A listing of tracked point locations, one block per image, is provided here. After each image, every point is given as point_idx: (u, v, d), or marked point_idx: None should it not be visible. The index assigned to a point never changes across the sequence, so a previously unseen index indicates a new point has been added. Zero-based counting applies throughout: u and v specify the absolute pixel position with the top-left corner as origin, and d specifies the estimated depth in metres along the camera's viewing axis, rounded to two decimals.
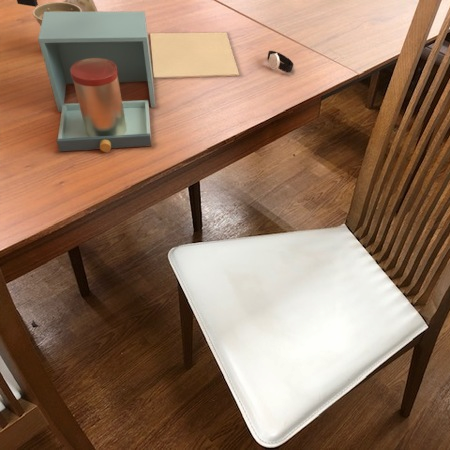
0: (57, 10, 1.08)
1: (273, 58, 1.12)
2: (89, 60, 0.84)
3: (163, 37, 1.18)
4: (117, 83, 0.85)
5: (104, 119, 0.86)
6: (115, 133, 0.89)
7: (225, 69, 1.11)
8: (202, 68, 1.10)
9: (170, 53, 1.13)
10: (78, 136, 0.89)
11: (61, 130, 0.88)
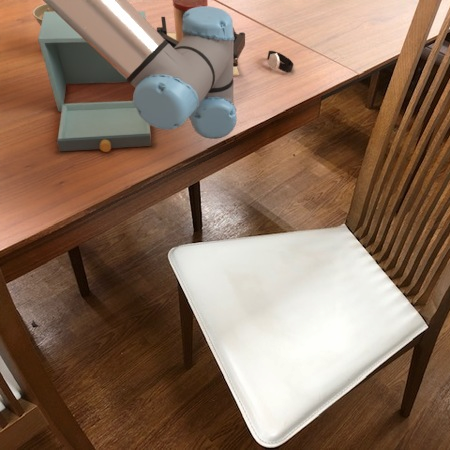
0: None
1: (273, 58, 1.12)
2: None
3: None
4: None
5: None
6: None
7: None
8: None
9: None
10: (78, 136, 0.89)
11: (61, 130, 0.88)
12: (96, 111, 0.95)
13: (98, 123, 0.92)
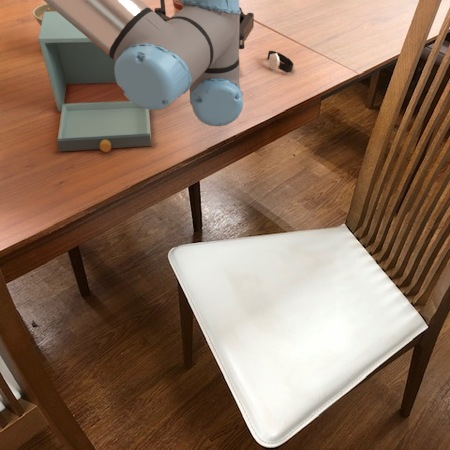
0: None
1: (273, 58, 1.12)
2: None
3: None
4: None
5: None
6: None
7: None
8: None
9: None
10: (78, 136, 0.89)
11: (61, 130, 0.88)
12: (96, 111, 0.95)
13: (98, 123, 0.92)
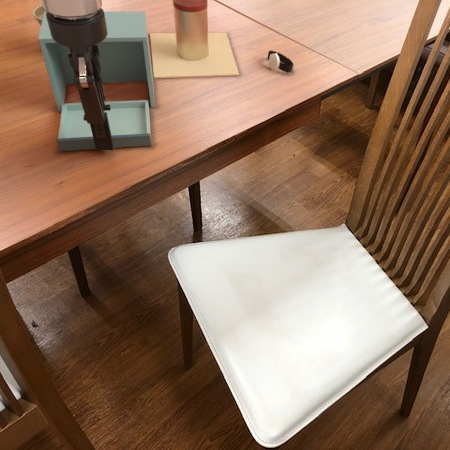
0: None
1: (273, 58, 1.12)
2: None
3: (163, 37, 1.18)
4: None
5: (195, 41, 1.09)
6: (202, 54, 1.12)
7: (225, 69, 1.11)
8: (202, 68, 1.10)
9: (170, 53, 1.13)
10: (78, 136, 0.89)
11: (61, 130, 0.88)
12: None
13: None
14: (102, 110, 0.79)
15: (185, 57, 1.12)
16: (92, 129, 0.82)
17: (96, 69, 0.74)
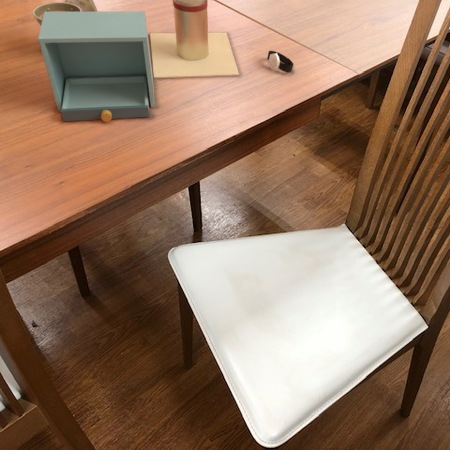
0: (57, 10, 1.08)
1: (273, 58, 1.12)
2: None
3: (163, 37, 1.18)
4: None
5: (195, 41, 1.09)
6: (202, 54, 1.12)
7: (225, 69, 1.11)
8: (202, 68, 1.10)
9: (170, 53, 1.13)
10: (81, 107, 0.95)
11: (65, 101, 0.94)
12: (97, 85, 1.01)
13: (100, 96, 0.98)
14: None
15: (185, 57, 1.12)
16: None
17: None
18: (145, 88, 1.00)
